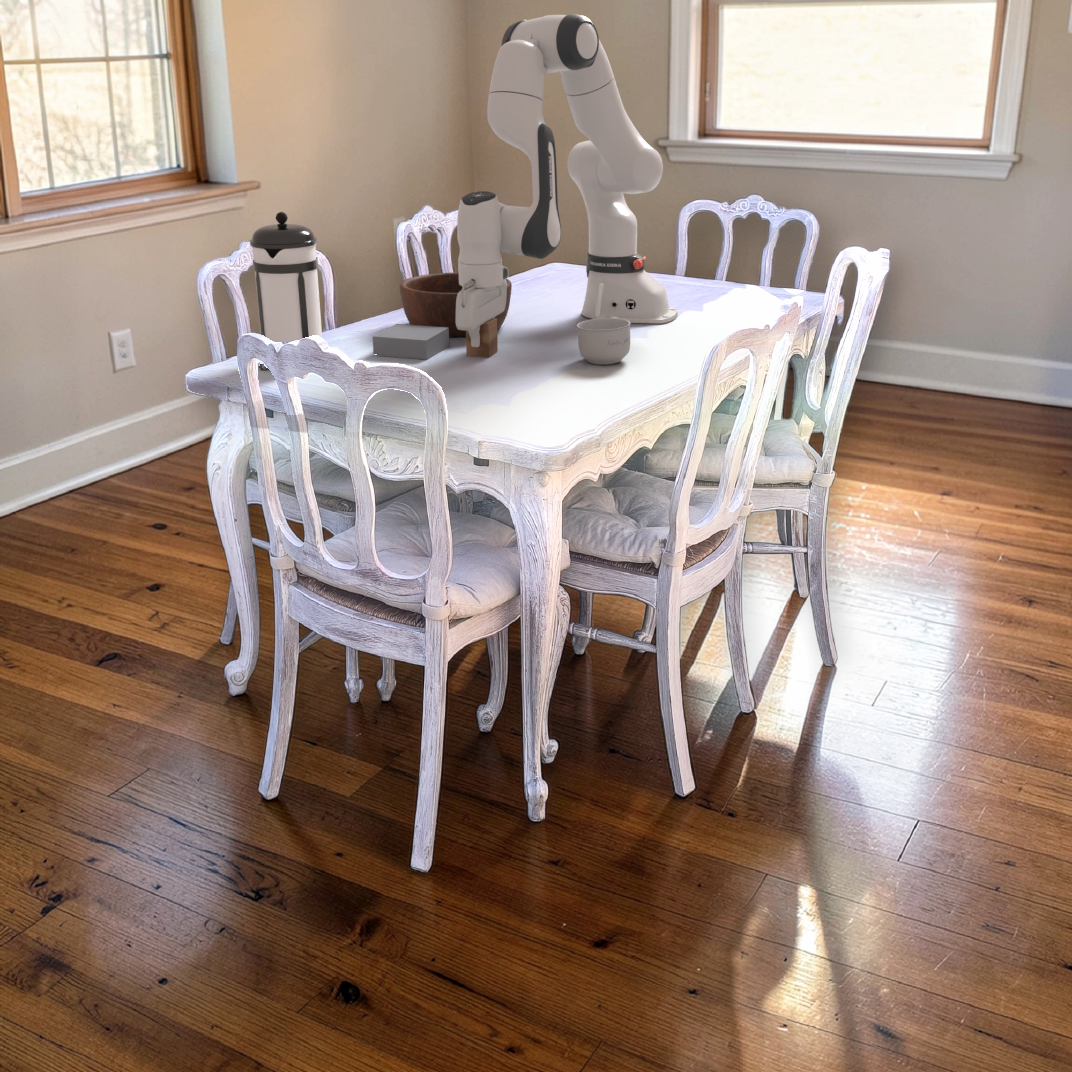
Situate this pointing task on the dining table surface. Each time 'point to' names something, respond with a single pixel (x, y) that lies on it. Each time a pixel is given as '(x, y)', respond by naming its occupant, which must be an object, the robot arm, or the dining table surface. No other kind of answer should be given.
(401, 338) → the block
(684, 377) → the dining table surface
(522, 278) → the dining table surface
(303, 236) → the coffee press
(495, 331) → the walnut block
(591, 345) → the teacup
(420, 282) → the wooden bowl
